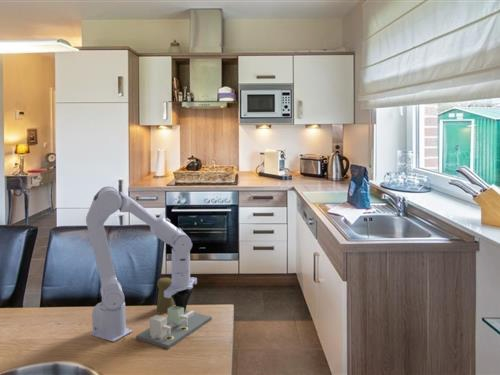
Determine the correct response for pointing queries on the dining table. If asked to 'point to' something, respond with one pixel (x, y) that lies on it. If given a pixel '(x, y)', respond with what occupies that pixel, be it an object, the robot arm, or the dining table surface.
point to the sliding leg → (177, 315)
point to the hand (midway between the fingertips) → (181, 312)
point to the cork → (163, 301)
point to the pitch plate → (171, 329)
